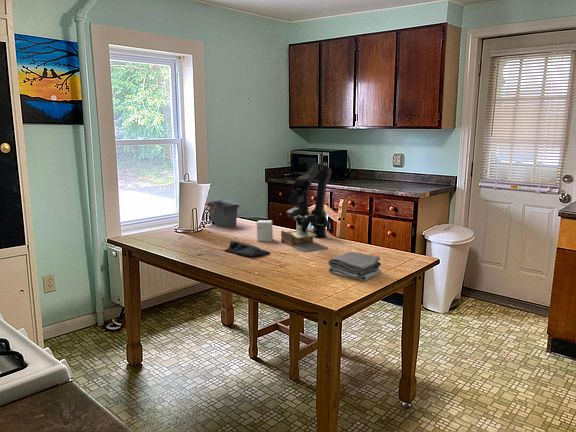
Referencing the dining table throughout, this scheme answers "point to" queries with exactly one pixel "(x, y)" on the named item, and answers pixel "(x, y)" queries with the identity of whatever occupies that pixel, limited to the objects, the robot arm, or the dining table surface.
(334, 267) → the towel
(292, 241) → the walnut box
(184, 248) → the dining table surface
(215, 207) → the storage bin
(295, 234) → the cover plate
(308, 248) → the rubber mat
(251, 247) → the crumpled dark cloth
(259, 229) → the small box
